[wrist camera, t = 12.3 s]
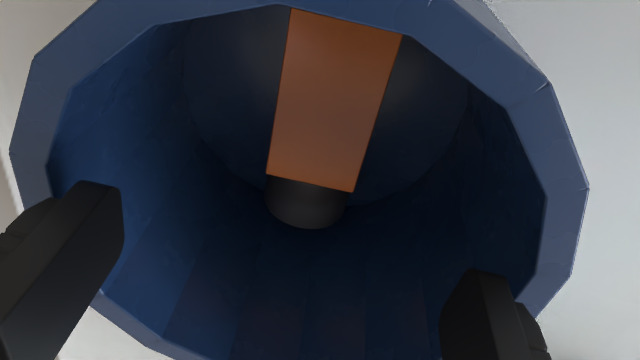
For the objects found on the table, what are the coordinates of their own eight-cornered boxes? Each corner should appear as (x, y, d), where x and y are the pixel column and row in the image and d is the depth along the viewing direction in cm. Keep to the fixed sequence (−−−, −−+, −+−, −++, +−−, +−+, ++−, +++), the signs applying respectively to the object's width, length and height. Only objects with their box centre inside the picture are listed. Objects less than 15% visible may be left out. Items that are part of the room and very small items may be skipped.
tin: (167, -136, 13) (-77, -141, 6) (553, -38, 14) (752, 66, 7) (169, 180, 21) (61, 347, 14) (420, 235, 21) (445, 425, 14)
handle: (303, -21, 14) (287, 6, 12) (400, 3, 15) (407, 34, 12) (272, 169, 19) (255, 219, 16) (346, 185, 19) (341, 237, 17)
